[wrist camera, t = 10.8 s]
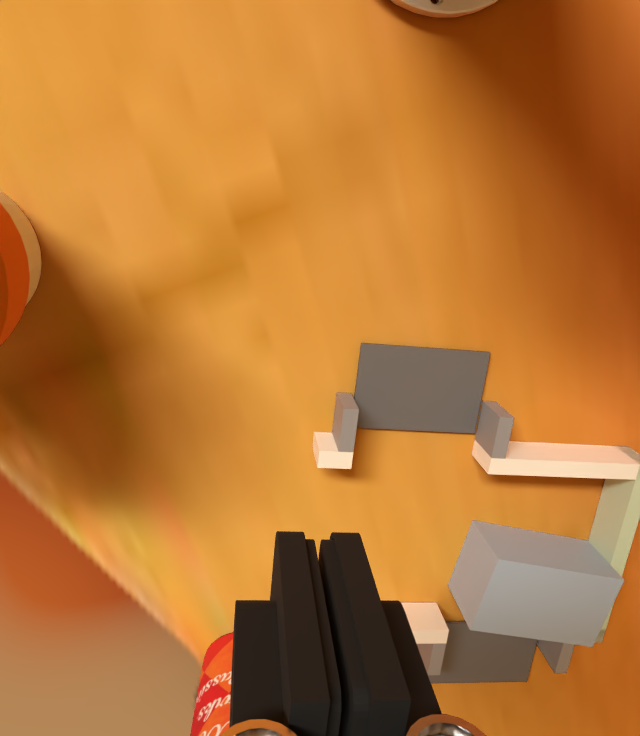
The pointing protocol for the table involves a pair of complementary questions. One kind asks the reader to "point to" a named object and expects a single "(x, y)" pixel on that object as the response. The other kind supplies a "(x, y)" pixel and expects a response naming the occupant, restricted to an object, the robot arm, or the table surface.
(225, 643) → the paper cup
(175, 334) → the table surface
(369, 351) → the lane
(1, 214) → the reusable coffee cup
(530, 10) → the table surface
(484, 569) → the block
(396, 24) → the table surface
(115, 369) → the table surface
